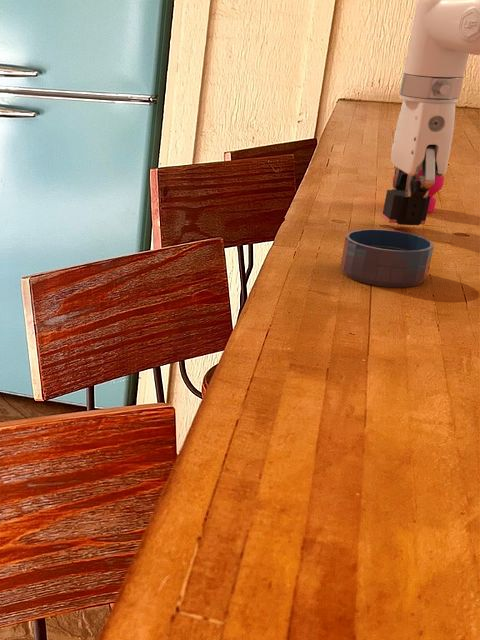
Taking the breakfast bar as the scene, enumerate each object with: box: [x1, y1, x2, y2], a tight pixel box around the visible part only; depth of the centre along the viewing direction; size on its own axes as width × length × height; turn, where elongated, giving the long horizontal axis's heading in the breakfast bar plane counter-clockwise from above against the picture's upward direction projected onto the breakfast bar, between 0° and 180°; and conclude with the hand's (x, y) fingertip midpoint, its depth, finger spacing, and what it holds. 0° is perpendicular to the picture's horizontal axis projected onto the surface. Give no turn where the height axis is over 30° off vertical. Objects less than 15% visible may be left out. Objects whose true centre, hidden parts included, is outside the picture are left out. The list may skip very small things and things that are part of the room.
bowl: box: [340, 228, 435, 288], centre depth 107 cm, size 10×10×4 cm
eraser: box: [381, 189, 431, 225], centre depth 127 cm, size 5×3×4 cm
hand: (403, 219), depth 128 cm, fingers closed on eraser, 3 cm apart
